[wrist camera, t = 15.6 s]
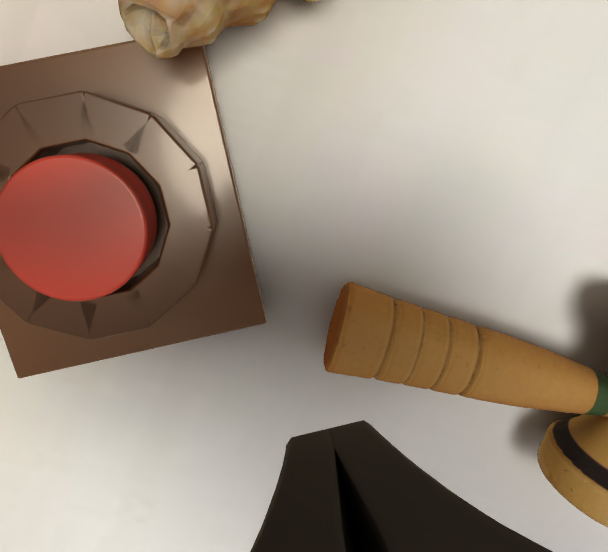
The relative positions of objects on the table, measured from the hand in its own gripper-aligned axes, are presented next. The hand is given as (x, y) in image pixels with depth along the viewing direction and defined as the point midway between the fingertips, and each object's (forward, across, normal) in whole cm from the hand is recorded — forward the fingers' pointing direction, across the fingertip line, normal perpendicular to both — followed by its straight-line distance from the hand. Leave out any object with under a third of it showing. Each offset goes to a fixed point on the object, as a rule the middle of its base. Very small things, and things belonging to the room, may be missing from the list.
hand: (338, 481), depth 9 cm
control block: (+10, +5, -4) cm, 12 cm away
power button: (+8, +5, -4) cm, 10 cm away
